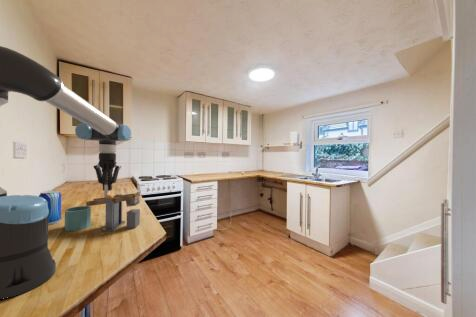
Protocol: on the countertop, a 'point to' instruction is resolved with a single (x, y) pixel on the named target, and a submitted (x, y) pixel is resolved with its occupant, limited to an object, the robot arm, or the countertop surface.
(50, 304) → the countertop surface
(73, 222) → the teal beaker
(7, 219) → the robot arm
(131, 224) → the block
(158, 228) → the countertop surface
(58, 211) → the beer can
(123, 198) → the lever
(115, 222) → the stand
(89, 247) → the countertop surface
